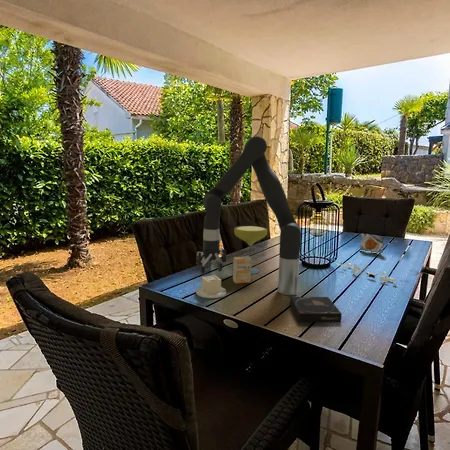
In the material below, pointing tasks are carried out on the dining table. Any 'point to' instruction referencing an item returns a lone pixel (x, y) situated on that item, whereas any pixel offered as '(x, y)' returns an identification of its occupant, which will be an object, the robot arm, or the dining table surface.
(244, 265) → the supplement box
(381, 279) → the miniature set
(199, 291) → the duct stub
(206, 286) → the collar
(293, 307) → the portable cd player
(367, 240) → the meal
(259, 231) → the cocktail glass
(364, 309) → the dining table surface
